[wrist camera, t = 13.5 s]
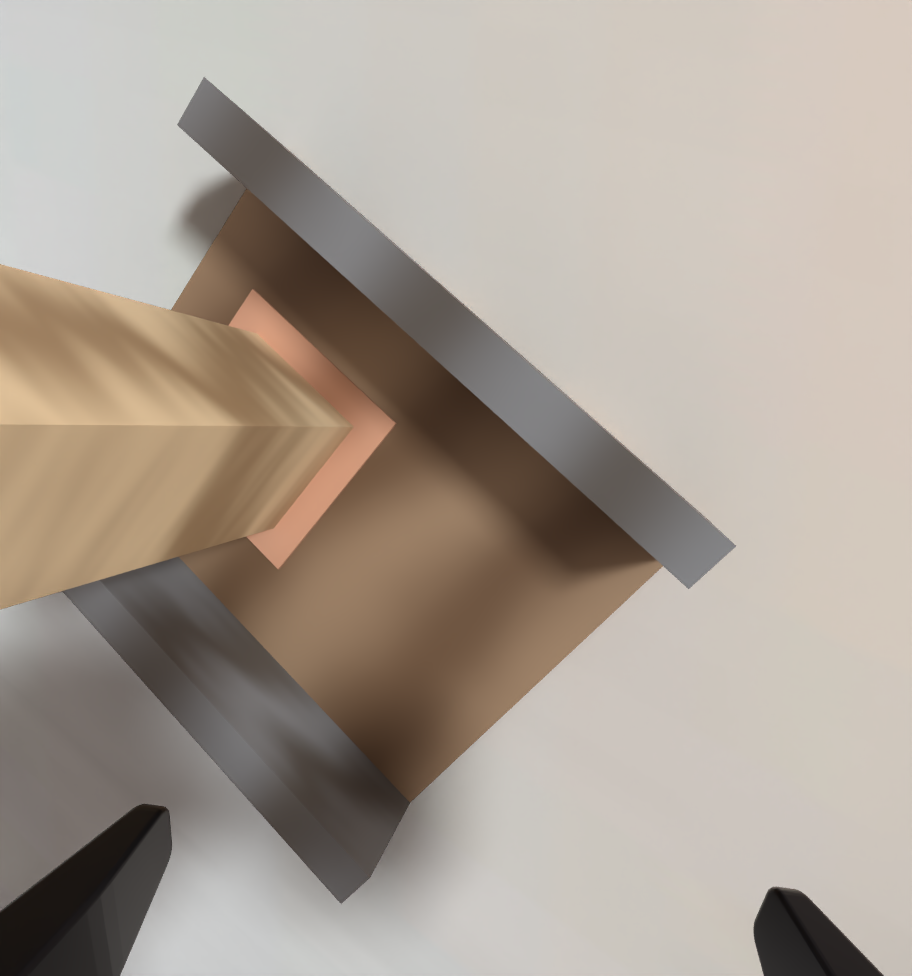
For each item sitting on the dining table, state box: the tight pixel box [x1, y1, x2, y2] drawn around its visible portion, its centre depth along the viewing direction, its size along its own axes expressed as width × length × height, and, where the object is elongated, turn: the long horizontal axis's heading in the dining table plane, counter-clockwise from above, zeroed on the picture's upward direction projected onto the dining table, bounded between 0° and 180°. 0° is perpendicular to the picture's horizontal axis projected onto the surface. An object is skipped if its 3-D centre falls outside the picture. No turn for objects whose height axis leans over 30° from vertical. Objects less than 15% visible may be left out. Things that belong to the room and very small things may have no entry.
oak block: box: [0, 264, 354, 609], centre depth 14 cm, size 5×5×12 cm
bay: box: [63, 77, 736, 903], centre depth 18 cm, size 19×16×4 cm
